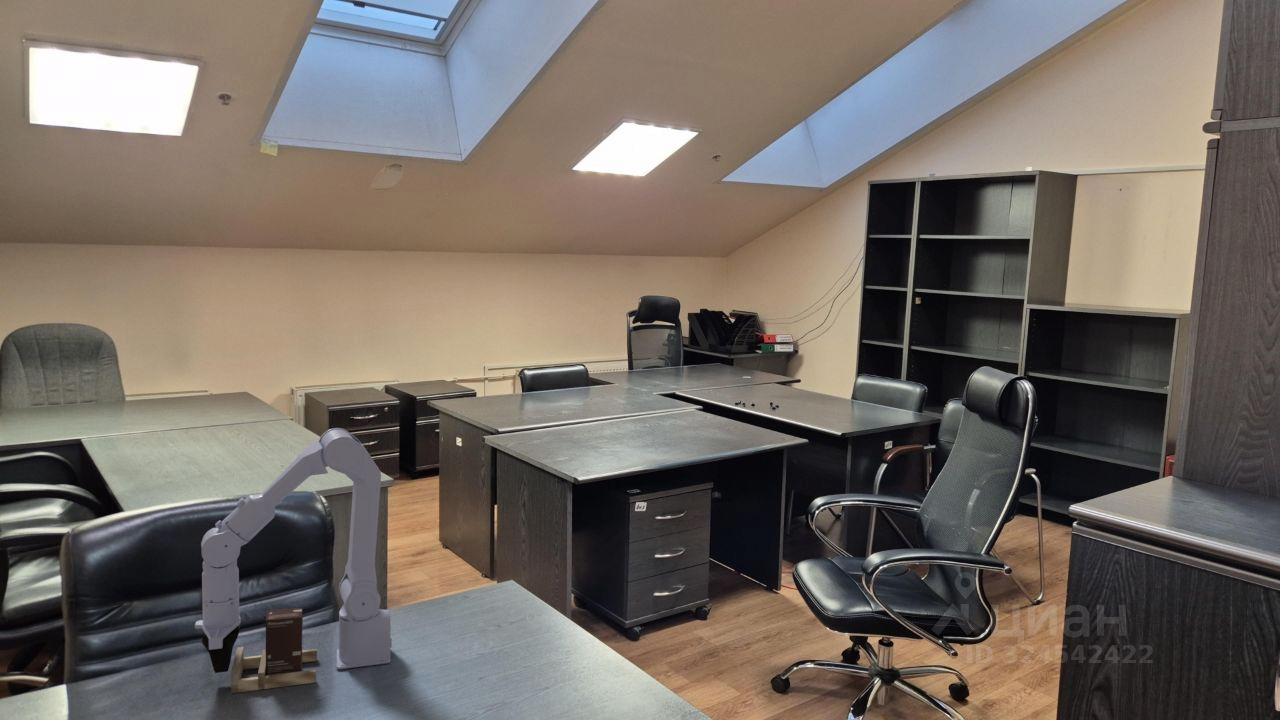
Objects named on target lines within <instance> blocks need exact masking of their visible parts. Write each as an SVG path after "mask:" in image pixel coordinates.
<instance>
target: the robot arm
mask: <svg viewBox="0 0 1280 720" xmlns="http://www.w3.org/2000/svg"><path fill="white" fill-rule="evenodd" d="M327 468H330V469H331V470H332V471H336V472H337V473H340V474H343V475H345V476H346V477H347V478H349V480H351V481H352V482H353V484H352V494H351V495H352V496H351V497H352V499H351V511H350V512H351V513H350V527H349V541H348V554H347V555H348V556H347V557H348V558H347V563H346V564H345V568H344V575H343V577H342V579H341V580H340V582H339V586H338V593H339V596H340V598H341V599H342V601H343V603H342V607H341V608H340V610H339V611H338V648H336V669H337V670H343V669H351V668H353V669H355V668H359V667H360V668H361V667H362V668H363V667H368V666H377V665H384V664H389V663H391V648H392V647H393V646H392V645H393V643H392V637H391V612H390V611H391V610H390V609H381V608H380V606H381V595H380V593H379V591H378V587H377V585H378V584H377V582H378V579H377V571H376V553H377V540H378V539H377V538H378V526H379V510H380V499H381V498H380V496H381V483H382V482H381V481H382V472H381V470H380V468H379V466H378V465H377V463H375V461H374V459H373V457H372V456H371V455H370V453H369V452H368V450H367V449H366V448H365V446H364V445H363V444H362V442H361V441H360V440H359V439H358V438H357V437H356V436H355V435H353V434H352V433H351V432H349V431H348V430H346V429H344V428H341V427H335V428H330V429H328V430H326V431H324V432H323V433H322V435H321V436H320V438H319V439H315V440H314V441H312V442H311V443H310V444H309V445H308V446H307V447H306V448H305V449H304V450H303V451H302V452H301V453H300V454H299V455H298V456H297V457H296V458H295V459H294V460H293V461H292V462H291V463H290V465H288V466H287V467H286V468H285V469H284V470H283V471H282V472H281V473H280V474H279V476H277V478H276V479H275V480H273V481H272V483H270V484H269V486H267V488H265V490H264V491H263V492H262V493H257V494H249V495H248V497H246V498H244V497H241V498H240V499H239V500H238V501H236V506H237V507H236V508H235V509H234V510H233V511H231V512H230V513H229V514H228V515H227V516H226V517H225V518H224V519H223V520H220V519H219V520H218V521H216V522H215V523H214V524H215V526H214V527H212V528H211V529H209V530H207V531H206V533H205V534H204V535H203V537H202V540H201V542H200V547H201V550H200V551H201V552H200V553H201V557H202V559H203V561H202V573H201V586H202V587H201V595H202V596H201V597H202V599H201V600H202V605H201V606H202V619H199V620H197V621H195V624H194V628H195V629H196V630H197V629H198V630H200V629H201V630H202V631H203V635H202V636H201V643H202V645H203V646H204V648H205V649H206V650H207V652H208V654H209V657H210V661H211V665H212V668H213V669H212V670H213V671H214V673H215V674H216V673H217V674H218V673H226V672H229V669H230V665H231V661H232V654H233V649H234V645H235V643H236V641H237V639H238V637H239V634H240V630H241V625H240V624H241V615H240V575H239V574H240V570H239V567H238V558H239V556H240V554H241V547H242V546H244V545H246V544H248V543H249V542H250V541H251V540H252V539H253V538H254V537H256V535H257V534H259V532H260V531H261V530H263V529H264V527H266V525H268V524H269V523H270V522H272V520H273V519H274V518H275V515H276V506H277V505H279V504H280V503H281V502H282V501H284V500H285V498H287V497H288V496H289V495H290V494H291V493H292V492H293V491H295V490H296V489H297V488H298V487H299V486H300V485H301V484H302V483H304V482H305V481H306V480H307V479H308V478H310V477H311V476H317V475H318V476H319V475H326V474H328V473H329V472H328V470H327Z"/></svg>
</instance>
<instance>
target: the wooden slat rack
mask: <svg viewBox="0 0 1280 720" xmlns="http://www.w3.org/2000/svg"><path fill="white" fill-rule="evenodd" d="M234 655H235V656H234V659H233V662H232V667H231V671H230V685H231V687H230V688H231V689H230V690H231V691H230V692H231V694H236V693H244V692H251V691H252V692H253V691H259V690H260V691H261V690H268V689H273V688H274V689H275V688H282V687H283V688H284V687H291V686H297V685H298V686H300V685H306V684H314V683H316V681H317V680H316V679H317V674H316V672H317V670H316V669H311V670H310V669H309V670H303V671H300V672H292V673H284V674H276V675H268V676H266V649H262V652H261V654H260V655H252V656H244V655H245V654H244V646H238V647H237V648H236V651H235V654H234ZM317 661H318V648H311V649H302V664H303V663H309V662H317ZM253 669H258V673H257V676H252V677H245V678H242V675H243V673H244V670H253Z"/></svg>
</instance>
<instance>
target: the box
mask: <svg viewBox="0 0 1280 720" xmlns="http://www.w3.org/2000/svg"><path fill="white" fill-rule="evenodd" d="M266 612H267V613H266V618H265V650H266V676H268V675H276V674H284V673H292V672H300V671H302V669H303V663H302V650H303V619H304V618H303V617H304V616H303V615H304V608H303V607H295V608H291V607H290V608H288V607H287V608H280V609H272V610H267V611H266Z"/></svg>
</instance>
